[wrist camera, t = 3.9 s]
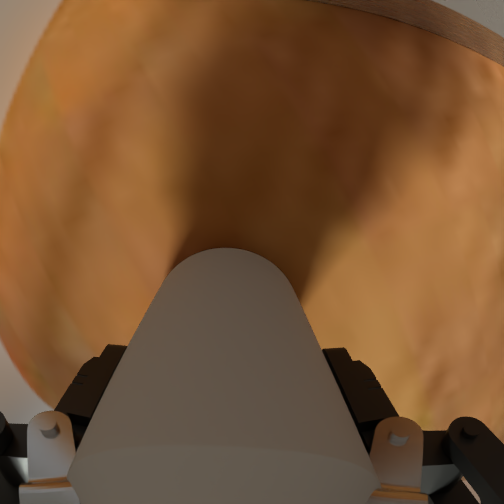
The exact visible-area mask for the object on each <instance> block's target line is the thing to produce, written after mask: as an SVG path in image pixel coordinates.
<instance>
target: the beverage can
mask: <svg viewBox="0 0 504 504" xmlns="http://www.w3.org/2000/svg"><path fill="white" fill-rule="evenodd" d="M67 480H69V482H70V483H71V485H72V487H73V488H74V490H75V492H76V494H77V496H78V498H79V501H80V504H366V502H367V500H368V499H369V497H370V495H371V494H372V493H373V491H374V490H375V489H377V488H381V484H380V482H379V479H378V477H377V474H376V472H375V470H374V467H373V465H372V463H371V460H370V458H369V456H368V453H367V451H366V449H365V446H364V444H363V442H362V439H361V437H360V435H359V433H358V430H357V428H356V426H355V423H354V421H353V419H352V417H351V414H350V412H349V410H348V408H347V405H346V403H345V401H344V399H343V396H342V394H341V392H340V390H339V387H338V385H337V383H336V381H335V378H334V376H333V374H332V372H331V370H330V367H329V365H328V363H327V361H326V359H325V356H324V354H323V352H322V350H321V348H320V345H319V343H318V341H317V339H316V337H315V335H314V332H313V330H312V328H311V326H310V324H309V322H308V319H307V317H306V315H305V313H304V311H303V309H302V307H301V304H300V302H299V300H298V298H297V296H296V294H295V292H294V289H293V287H292V285H291V284H290V282H289V280H288V279H287V278H286V276H285V275H284V274H283V273H282V271H281V270H280V269H279V268H278V267H276V266H275V265H274V264H273V263H271V262H270V261H269V260H267V259H265V258H264V257H262V256H260V255H258V254H255V253H252V252H250V251H246V250H242V249H236V248H215V249H209V250H205V251H202V252H199V253H196V254H194V255H192V256H190V257H188V258H186V259H185V260H183V261H182V262H180V263H179V264H178V265H177V266H176V267H175V268H174V269H173V270H172V271H171V272H170V273H169V274H168V276H167V277H166V278H165V280H164V282H163V283H162V285H161V287H160V288H159V290H158V292H157V294H156V296H155V297H154V299H153V301H152V303H151V304H150V306H149V308H148V310H147V312H146V313H145V315H144V317H143V319H142V321H141V323H140V324H139V326H138V328H137V330H136V332H135V334H134V335H133V337H132V339H131V341H130V343H129V345H128V347H127V349H126V351H125V352H124V354H123V356H122V358H121V360H120V362H119V364H118V366H117V368H116V370H115V372H114V374H113V376H112V378H111V380H110V382H109V384H108V386H107V388H106V390H105V392H104V394H103V396H102V398H101V400H100V402H99V404H98V406H97V408H96V410H95V412H94V415H93V417H92V419H91V421H90V423H89V425H88V427H87V430H86V432H85V434H84V436H83V438H82V441H81V443H80V445H79V447H78V450H77V452H76V454H75V456H74V459H73V461H72V463H71V466H70V468H69V470H68V473H67Z"/></svg>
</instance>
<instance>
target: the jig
mask: <svg viewBox="0 0 504 504" xmlns="http://www.w3.org/2000/svg"><path fill="white" fill-rule="evenodd" d="M308 1H315V2H322V3H328V4H333V5H338V6H343V7H348V8H353V9H357V10H362V11H366V12H370V13H374V14H377V15H381V16H385V17H388V18H392V19H395V20H398V21H401V22H404V23H407V24H410V25H413V26H416V27H419V28H422V29H425V30H427V31H430V32H433V33H435V34H438V35H440V36H443V37H445V38H448V39H450V40H452V41H455V42H457V43H459V44H461V45H463V46H466V47H468V48H470V49H472V50H474V51H476V52H478V53H480V54H482V55H484V56H486V57H488V58H490V59H492V60H493V61H495V62H497V63H499V64H501V65H502V66H504V0H308Z"/></svg>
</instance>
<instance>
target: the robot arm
mask: <svg viewBox="0 0 504 504" xmlns="http://www.w3.org/2000/svg"><path fill="white" fill-rule="evenodd" d="M127 347H128V346H122V345H111V344H108V345H107V346H106V347H105V349H104V351H103V352H102V354H101V355H100V357H93V358H92V359H90V360H89V361H87V362H86V363H85V364H83V366H82V367H81V369H80V370H79V372H78V373H77V376H75V378H74V380H73V381H72V384H70V386H69V387H68V389H67V390H66V392H65V394H64V395H63V397H62V398H61V400H60V402H59V403H58V405H57V406H56V408H55V410H54V411H45V412H42V413H39V414H37V415H36V416H34V417H33V418H32V419H31V421H30V422H29V424H9V423H8V422H7V421H6V419H5V417H4V415H3V414H2V413H1V412H0V504H80V501H79V498H78V496H77V494H76V492H75V490H74V488H73V487H72V485H71V483H70V482H69V480H67V473H68V470H69V468H70V466H71V463H72V461H73V459H74V456H75V454H76V452H77V450H78V447H79V445H80V443H81V441H82V438H83V436H84V434H85V432H86V430H87V427H88V425H89V423H90V421H91V419H92V417H93V415H94V412H95V410H96V408H97V406H98V404H99V402H100V400H101V398H102V396H103V394H104V392H105V390H106V388H107V386H108V384H109V382H110V380H111V378H112V376H113V374H114V372H115V370H116V368H117V366H118V364H119V362H120V360H121V358H122V356H123V354H124V352H125V351H126V349H127ZM322 352H323V354H324V356H325V359H326V361H327V363H328V365H329V367H330V370H331V372H332V374H333V376H334V378H335V381H336V383H337V385H338V387H339V390H340V392H341V394H342V396H343V399H344V401H345V403H346V405H347V408H348V410H349V412H350V414H351V417H352V419H353V421H354V423H355V426H356V428H357V430H358V433H359V435H360V437H361V439H362V442H363V444H364V446H365V449H366V451H367V453H368V456H369V458H370V460H371V463H372V465H373V467H374V470H375V472H376V474H377V477H378V479H379V482H380V484H381V488H377V489H375V490H374V491H373V493H372V494H371V495H370V497H369V499H368V500H367V502H366V504H479V503H478V501H477V500H476V499H475V498H474V496H473V495H472V493H471V492H470V491H469V489H468V488H467V487H466V486H465V484H464V483H463V481H462V480H461V478H462V477H463V476H464V477H465V479H466V480H467V481H468V483H469V484H470V485H471V486H472V488H473V489H474V490H475V491H476V493H477V494H478V496H479V497H480V500H481V504H504V444H503V443H502V442H501V441H500V440H499V439H498V438H497V437H496V436H495V435H494V434H493V433H492V432H491V431H490V430H489V429H488V427H487V426H486V425H485V424H484V423H482V422H481V421H480V420H478V419H476V418H473V417H460V418H457V419H455V420H454V421H453V422H452V423H451V424H450V426H449V428H448V430H446V431H423V430H422V429H421V427H420V426H419V425H418V424H417V423H416V422H414V421H413V420H410V419H408V418H405V417H399V415H398V413H397V412H396V410H395V408H394V407H393V405H392V403H391V402H390V400H389V398H388V397H387V395H386V393H385V392H384V390H383V388H381V385H380V384H379V382H378V380H376V377H375V375H374V374H373V372H372V370H371V369H370V368H369V367H368V366H366V365H365V364H364V363H362V362H361V361H360V360H358V361H352V359H351V357H350V355H349V354H348V352H347V350H346V349H345V348H344V347H343V348H329V349H322Z"/></svg>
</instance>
